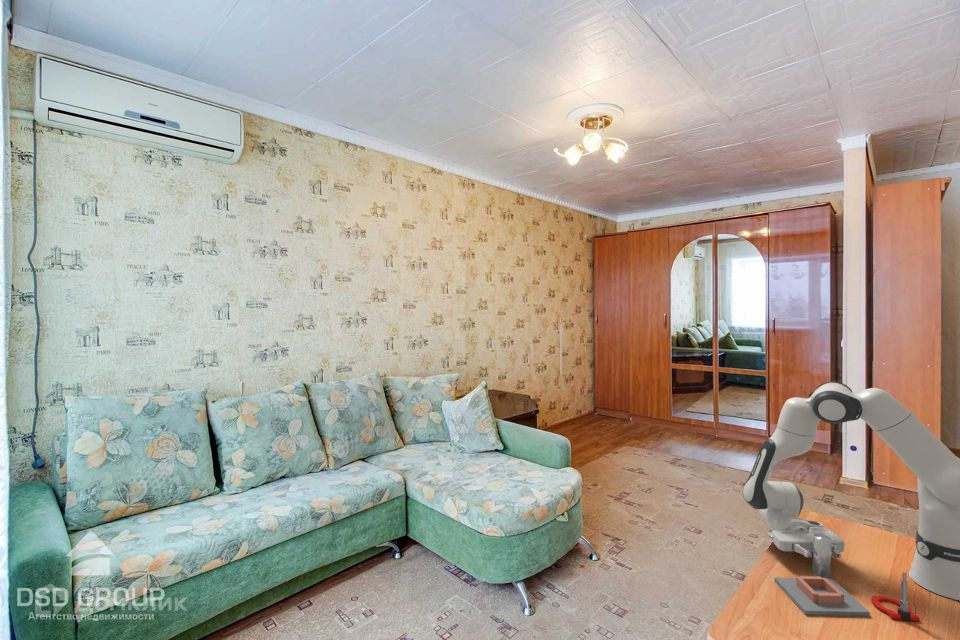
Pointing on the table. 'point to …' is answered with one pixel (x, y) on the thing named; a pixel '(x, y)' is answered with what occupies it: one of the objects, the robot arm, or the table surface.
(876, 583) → the table surface
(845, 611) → the keeper
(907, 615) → the tow hook
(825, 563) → the brushed steel cylinder
